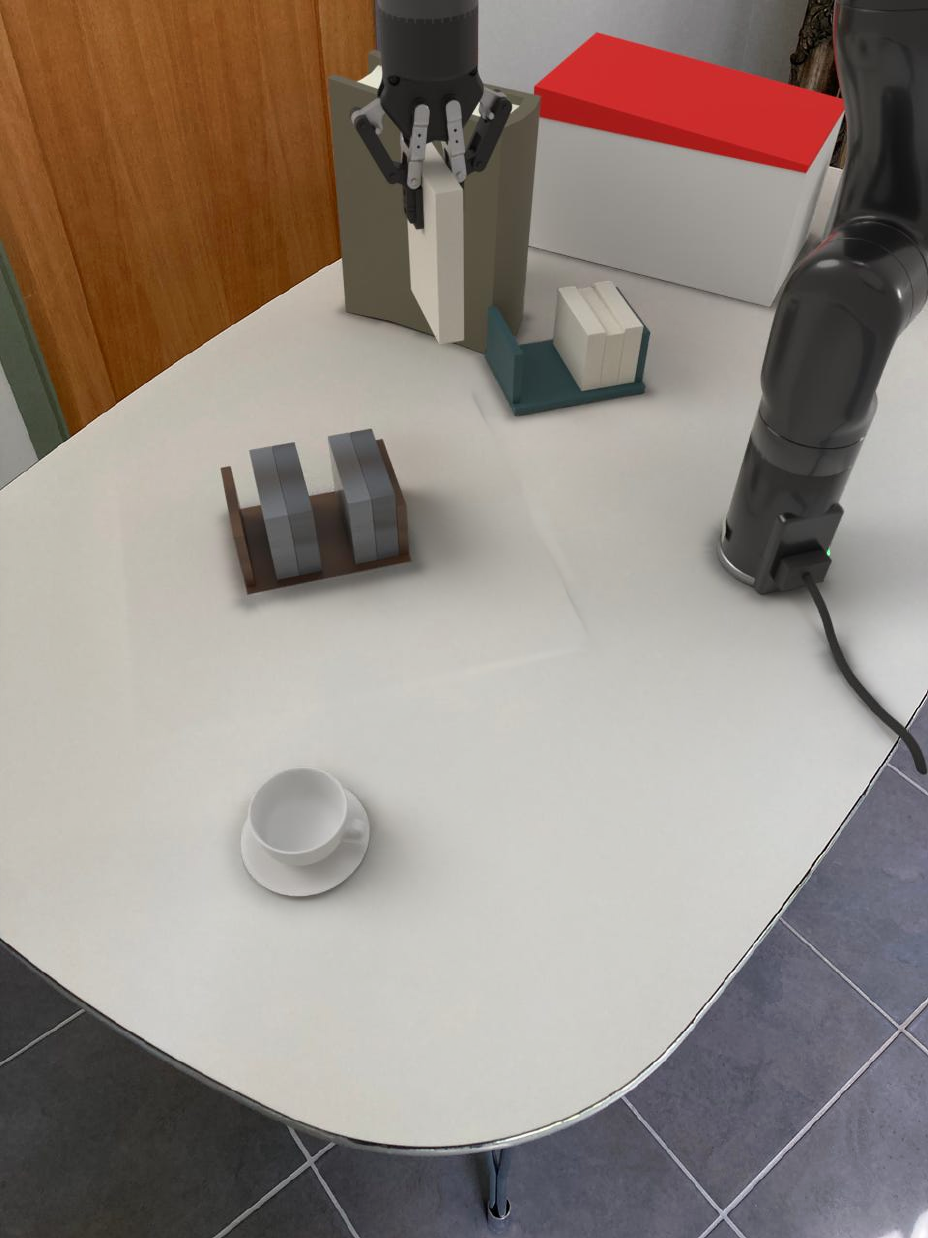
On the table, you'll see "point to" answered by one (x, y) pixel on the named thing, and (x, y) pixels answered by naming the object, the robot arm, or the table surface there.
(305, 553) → the brown book rack
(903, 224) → the robot arm
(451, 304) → the white book
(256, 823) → the teacup
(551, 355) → the teal book rack
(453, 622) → the table surface
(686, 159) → the red-lidded white box
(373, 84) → the book
